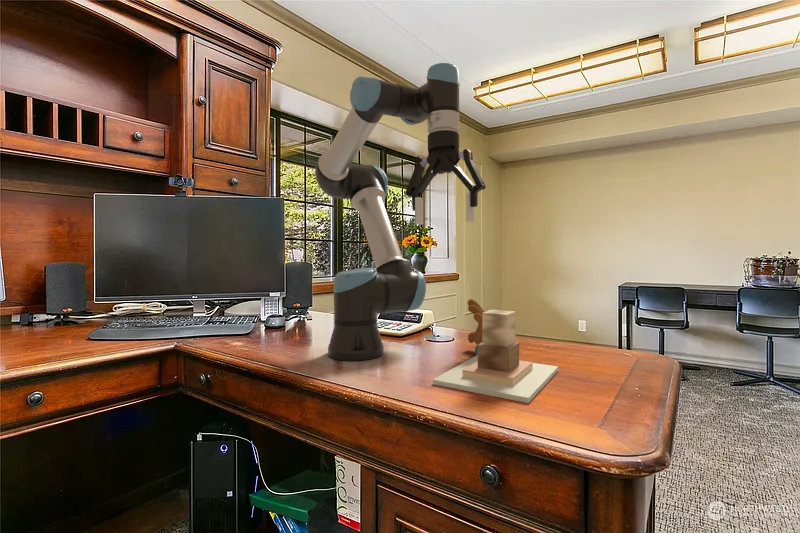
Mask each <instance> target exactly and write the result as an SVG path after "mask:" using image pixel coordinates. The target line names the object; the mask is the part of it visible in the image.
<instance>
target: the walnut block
mask: <svg viewBox="0 0 800 533" xmlns="http://www.w3.org/2000/svg"><path fill="white" fill-rule="evenodd" d="M477 346H478V368H484V369H491V370H497V371H503V372H510V371H512V370H513V369H514V368H515V367H517V366H518V365H519V360H520V342H519V341H515V343H514V344H512V345H511V346H509V347H507V348H505V347H497V346H490V345H482V343H480V344H478V345H477Z"/></svg>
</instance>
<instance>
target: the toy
mask: <svg viewBox="0 0 800 533" xmlns="http://www.w3.org/2000/svg"><path fill="white" fill-rule="evenodd" d="M467 305H468V308H467V310H468V311H469V312H470V313H472V315H473V319H474V320H475V322H477V327H476V329H475V331H472V332H469V333H468V334H467V339H468V342H469V343H470V344H472V343H475V345H476V346H475V347H474V354H475V355H474V356H476V355H478V344H480V343H482V313H483V312H485V310H484V309H483V307H482V306H481V305H480V304H479V303H478V302H477V301H476V300H474V299H473V298H471V299H470V298H469V299H468V300H467Z"/></svg>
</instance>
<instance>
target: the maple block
mask: <svg viewBox="0 0 800 533" xmlns="http://www.w3.org/2000/svg"><path fill="white" fill-rule="evenodd" d="M515 342H516V311H513V310H502V309H501V310H500V309H489V310H486V311H484V312H483V313H482V345H490V346H497V347H505V348H507V347H509V346H511V345H512V344H514V343H515Z"/></svg>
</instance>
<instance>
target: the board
mask: <svg viewBox="0 0 800 533" xmlns="http://www.w3.org/2000/svg"><path fill="white" fill-rule="evenodd" d="M558 372H559V366H557V365H550V364H545V363H537V362H532V361H527V360H526V361H525V360H520V359H519V365H518V366H517V367H515V368H514V369H513V370H512V371H510V372H503V371H497V370H491V369H484V368H478V355H474V356H473V357H471V358H469V359H467V360H466V361H464V362H462V363H461V364H458V365H457V366H455V367H453V368H451V369H450V370H448V371H446V372H444V373H442V374H440V375H439V376H436V377H435V378H433V379H432V385H435V386H440V387H445V388H449V389H455V390H460V391H466V392H471V393H474V394H475V393H476V394H480V395H486V396H491V397H496V398H501V399H506V400H511V401H514V402H520V403H525V404H529V403H530V402H531V401H532V400H533V399H534V398H535V397H536V396H537V394H538V393H539V392H540V391H541V390H542V389H543V388H544V387H545V386H546V385H547V384H548V382H550V380H551V379H553V377H554V376H555V375H556V374H557V373H558Z"/></svg>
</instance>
